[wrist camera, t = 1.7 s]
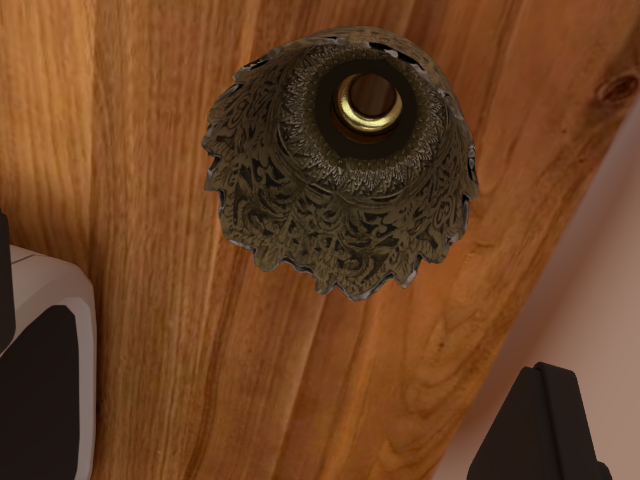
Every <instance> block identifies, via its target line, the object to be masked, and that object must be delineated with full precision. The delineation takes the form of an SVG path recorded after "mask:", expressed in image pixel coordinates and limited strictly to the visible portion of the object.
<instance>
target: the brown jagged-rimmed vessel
mask: <svg viewBox="0 0 640 480" xmlns="http://www.w3.org/2000/svg"><path fill="white" fill-rule="evenodd" d="M366 74H375V75H378V76H381V77H383V78H384V79H386V80H387V81H388V82H389V83H390V84H391V86H392V89H393V93H394V99H393V103H392V105H391V107H390V108H389V110H388V111H387V112H385V113H384V114H382V115H380V116H377V117H368V116H365V115H362V114H361V113H359V112H358V111H357V110H356V109H355V108H354V106H353V105H352V102H351V98H350V92H351V88H352V85H353V84H354V82H355V81H356V80H357V79H358V78H359V77H361V76H363V75H366ZM232 77H233V78H234V81H235V84H234V85H233V86H231V87H230V88H229V89H228V90H226V91H225V92H224V93H223V94H222V95H221V96H220V97H219V98H218V99H217V100H216V102H215V103H214V105H213V106H212V108H211V109H210V111H209V113H208V122H210V124H209V125H208V131H207V133H206V134H205V136H204V138H203V140H202V142H201V145H202V147H203V148H204V149H205V150H206V151H207V152H208V155H209V156H212V157H215V159H214V161H213V162H212V165H211V167H210V168H209V169H208V172H207V177H206V181H205V184H204V190H206V191H217V192H218V196H219V201H220V203H219V209H218V215H219V218H220V222H221V226H222V230H223V234H224V237H225V238H226V239H227V240H228V241H229V242H231V243H233V244H235V245H238V246H241V247H243V248H244V249H246V250H249V251H251V252H253V262H254V263H255V264H256V265H257V266H258V267H259V268H260V269H261V270H262V271H263V272H269V271H272V270H274V268H275V267H277V265H279V264H280V263H282V262H284V261H285V262H287V263H289V264H291V265H292V266H293V267H294V269H295V270H296V271H297V272H307V273H309V274H312V276H313V279H314V280H315V290H316V292H317V293H319V294H321V295H323V294H327V293H329V292H331V291H332V290H333V289H334V288H335V286H337V287H338V288H339V289H340V290H341V291H342V292H343V293H344V294H345V295H346V296H347V297H348V299H350V300H352V301H355V302H356V301H360V300H364V299H367V298H369V297H370V296H371V295H373V294H374V293H376V292H377V291H378V290H379V289H380V288H381V286H382V285H383V284H384V283H385V282H387V281H388V280H390V279H392V278H394V279H395V281H397V284H399V285H401V287H402V288H403V289H405V288H406V287H408V285H409V284H410V283H411V282H412V280H413V279H414V278H415V277H416V275H417V272H418V267H419V264H420V262H421V259H424V260H425V261H427V262H428V263H429V264H430V263H431V262H432V263H436V264H439V263H442V262H443V261H444V259H445V258H446V256H447V254H448V250H449V246H451V245H452V244H453V241H457V240H460V239H462V237H463V235H464V234H465V231H466V227H467V223H468V215H469V198H470V201H472V200H473V199H477V197H478V188H479V184H478V180H477V176H476V171H475V146H474V141H473V138H472V134H471V132H470V129H469V127H468V125H467V123H466V121H465V119H464V116H463V113H462V110H461V107H460V105H459V102H458V99H457V97H456V95H455V93H454V91H453V89H452V86H451V84H450V82H449V81H448V79H447V78H446V76H445V74H444V73H443V71H442V70H441V69H440V67H439V66H438V65H437V64H436V62H435V61H434V60H433V59H432V58H431V57H430V56H429V55H428V54H427V53H426V52H425V51H424V50H422V49H421V48H420V47H419V46H417V45H416V44H415V43H413V42H411V41H410V40H408V39H406V38H405V37H403V36H400V35H398V34H396V33H394V32H391V31H388V30H384V29H381V28H376V27H371V26H341V27H335V28H329V29H326V30H322V31H319V32H315V33H312V34H310V35H307V36H304V37H302V38H300V39H297V40H295V41H292V42H289V43H286V44H284V45H281V46H279V47H276V48H274V49H272V50H270V51H268V52H267V53H266V54H265V55H263V56H262V57H260V58H259V59H257V60H256V61H254V62H251V63H249V64H247V65H245V66H243V67H241V68H240V69H239V70H238V71H237V72H236V73H235V74H234V75H233V76H232Z"/></svg>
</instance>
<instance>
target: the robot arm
mask: <svg viewBox="0 0 640 480" xmlns="http://www.w3.org/2000/svg"><path fill="white" fill-rule="evenodd" d="M15 331H16V319H15V306H14V293H13V280H12V266H11V253H10V240H9V227H8V219H7V217H6V215H5V214H3V213H1V209H0V354H1V353H2V352H3V351H4V350H5V349H6V348H7V347H8V346H9V345H10V343H11V342H12V340H13V338H14V335H15ZM467 480H612V476H611V474H610V471H609V469H608V467H607V466H606V465H605V464H604V463H602V462H599V461H597V459H596V455H595V451H594V447H593V443H592V439H591V435H590V431H589V427H588V422H587V419H586V414H585V410H584V406H583V402H582V398H581V394H580V390H579V386H578V382H577V378H576V375H575V373H574V372H573V371H571V370H567V369H564V368H560V367H556V366H553V365H550V364H546V363H543V362H538V363H537V364H535V365H534V367H533V368H530V367H524V368H522V370H521V371H520V373H519V375H518V377H517V379H516V380H515V382H514V384H513V386H512V388H511V390H510V392H509V394H508V396H507V397H506V399H505V401H504V403H503V405H502V407H501V409H500V411H499V412H498V414H497V416H496V418H495V420H494V422H493V424H492V426H491V428H490V430H489V431H488V433H487V435H486V437H485V439H484V441H483V443H482V444H481V446H480V448H479V450H478V452H477V454H476V456H475V458H474V460H473V462H472V464H471V466H470V468H469V471H468V474H467Z"/></svg>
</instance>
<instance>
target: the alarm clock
mask: <svg viewBox="0 0 640 480" xmlns="http://www.w3.org/2000/svg"><path fill="white" fill-rule="evenodd" d="M10 253H11V266H12V280H13V293H14V306H15V319H16V331H15V335H14V338H13V340H12V342H11V343H10V345H9V346H8V347H7V348H6V349H5V350H4V351H3V352H2V353H1V354H0V480H90V477H91V474H92V467H93V457H94V446H95V436H96V351H97V325H96V314H95V302H94V290H93V285H92V282H91V281H90V279H89V278H88V277H87V276H86V275H85V273H84V272H83V271H82V270H81V268H80V267H78V266H77V265H75V264H73V263H70V262H67V261H64V260H60V259H57V258H54V257H50V256H47V255H44V254H40V253H37V252H34V251H31V250H27V249H24V248H21V247H17V246H14V245H11V244H10Z"/></svg>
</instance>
